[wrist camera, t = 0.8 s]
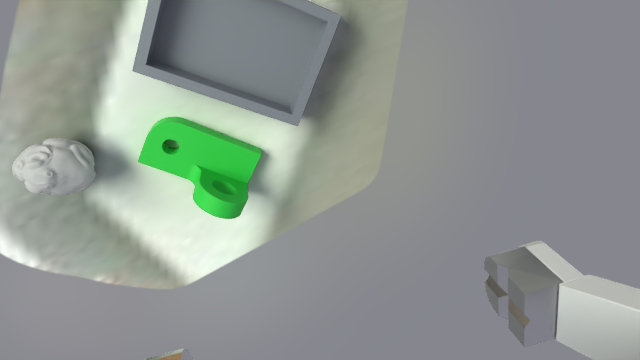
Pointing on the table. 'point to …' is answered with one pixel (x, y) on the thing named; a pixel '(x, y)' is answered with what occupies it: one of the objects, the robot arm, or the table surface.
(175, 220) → the table surface
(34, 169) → the white sculpted head
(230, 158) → the mechanical part
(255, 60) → the tray
